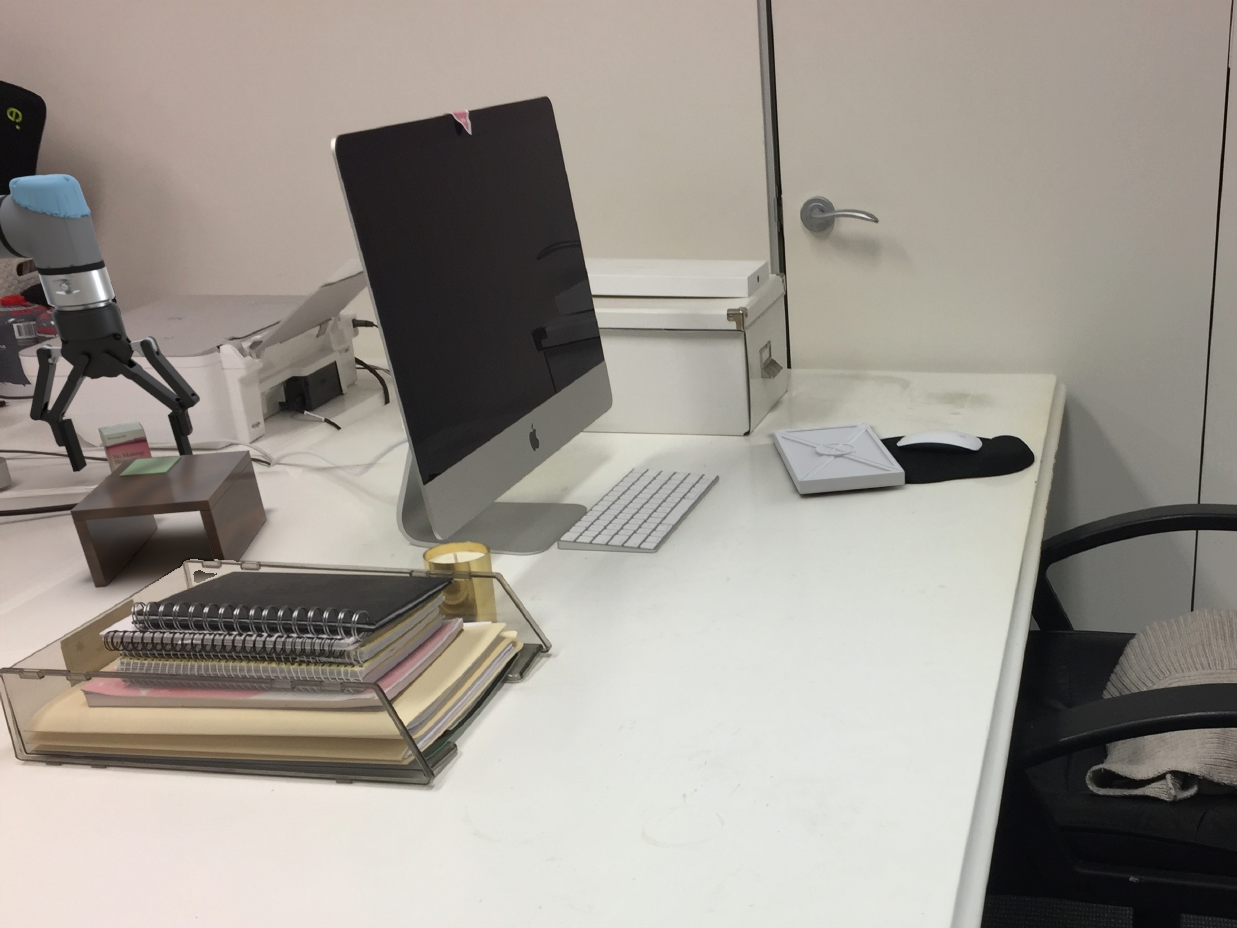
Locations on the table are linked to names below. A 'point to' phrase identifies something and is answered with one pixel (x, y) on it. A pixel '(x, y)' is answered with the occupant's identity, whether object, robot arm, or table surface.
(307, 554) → the table surface
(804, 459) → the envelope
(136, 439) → the small box
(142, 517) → the shelf
